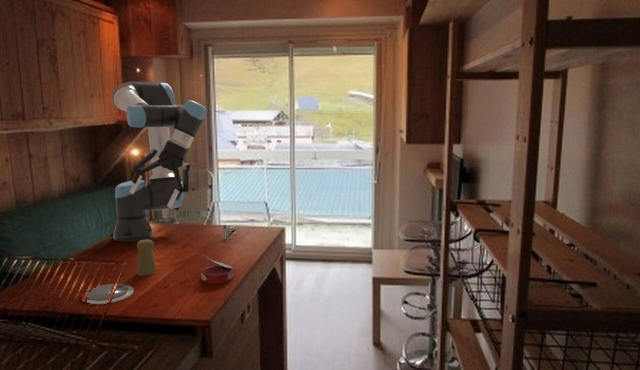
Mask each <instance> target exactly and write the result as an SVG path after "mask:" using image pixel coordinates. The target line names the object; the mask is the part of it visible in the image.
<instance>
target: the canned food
mask: <svg viewBox="0 0 640 370" xmlns="http://www.w3.org/2000/svg"><path fill="white" fill-rule="evenodd" d="M202 255H203V256H204V257H205V258H206V259H208V260H210V261H212V262H213V263H215V264H210V265H207V266H203V267H202V268H201V269H200V277H201V278H200V279H201V282H203V283H206V284H222V283H227V282H229V281H231V280H232V279H233V276H234V275H233V266H231V265H229V264H225V263H223V262H219V261H215V260H213V259H210V258H209V257H208V256H207V255H205V254H204V253H202Z"/></svg>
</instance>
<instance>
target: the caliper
mask: <svg viewBox="0 0 640 370" xmlns="http://www.w3.org/2000/svg"><path fill="white" fill-rule="evenodd" d="M237 228H238V227H237V225H233V226H228V225H227V224H223V228H222V240H223V241H227V239H228V234H230V232H232V231H235V230H237Z"/></svg>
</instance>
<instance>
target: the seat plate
mask: <svg viewBox="0 0 640 370" xmlns="http://www.w3.org/2000/svg"><path fill="white" fill-rule="evenodd" d="M114 284H115V283H110V284H109V283H108V284H104V285H99V286H95V287H96V288H94V287H92V288H93V289H92V288H91V289H92V290H91V292H88V293H87V294H86V296H87V298H88V299H90V300H87V303H90V304H89V305H93V304H94V305H96V306H97V305H106V304H107V302H108V299H109V297H110V294H111V291H112V288H113V286H114ZM117 284H118V286H117V288H116V291H115V293H114V295H113V298H112V301H111V303H110V304H114V303H117V302H121V301H124V300H126V299H128V298H129V297H132V295H133V294H134V292H135V291H134V287H133V286H131V285H129V284H125V283H117ZM107 305H108V304H107Z"/></svg>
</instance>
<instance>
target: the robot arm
mask: <svg viewBox="0 0 640 370" xmlns="http://www.w3.org/2000/svg"><path fill="white" fill-rule="evenodd" d="M111 98H112V102H113V104H114V106H115V107H117V109H119V110H121V111H124V112H125V113H126V121H127V124H128V126H129V127H130V128H141V129H142V128H147V132H148V141H149V142H148V143H149V153H148V154H147V155H145V156H144V157H143V158H142V159H140V160H139V161H138V162H136V163H135V164H134V165H132V166H131V170H132V171H134V175H133V178H132V180H129V181H124V182H122V183H119V184H118V185H116V187H115V190H114V192H115V193H114V198H115V207H116V223H115V227H114V231H113V233H112V234H113V241H115V242H120V243H134V242H139V241H140V240H145V239H149V240H150V239H151V238H152V237H153V236H154V233H153V229H152V226H151V224H150V222H149V219H148V212H153V211H161V210H171V209H176V208H177V209H178V208H179V207H181V205H182V204H183V200H184V193H188V192H190V190H189V185H190V184H189V183H190V182H189V180H190V179H189V177H190V176H189V175H190V173H189V171H190V169H191V164H189V163H187V162H186V163H185V162H184V160H185V158H186V155H187V153H188V152H189V150H188V148H190V147H191V145H192V144H193V141H194V139H195V137H196V135H197V133H198V132H199V129H200V127H201V125H202V123H203V121H204V120H205V117H206V114H207V113H208V110H207V108H206V106H203V104H200V103H199V102H196V101H194V100H191V99H188V100H186V102H185V104H176V97H175V93H174V91H173V88H172V87H171V85H170V84H168V83H167V82H158V81H155V82H154V81H127V82H123V83H121V84H120V85H118V86H117V87H115V89H114V90H113V92H112V97H111ZM171 127H173V128H172V130H171V133H170V128H171ZM148 162H151V163H150V164H147V163H148ZM146 164H147V165H146ZM144 165H145V166H144ZM181 167H182V168H181ZM179 168H181V169H183V170H182V179H181V176H180V171H179V170H180V169H179ZM149 171H151V172H152V175H151V176H150V177H149V179H148V181H149V182H148V183H147V182H146V181H145V180H144V179H142V178H143V175H142V174H145V173H147V172H149Z"/></svg>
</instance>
